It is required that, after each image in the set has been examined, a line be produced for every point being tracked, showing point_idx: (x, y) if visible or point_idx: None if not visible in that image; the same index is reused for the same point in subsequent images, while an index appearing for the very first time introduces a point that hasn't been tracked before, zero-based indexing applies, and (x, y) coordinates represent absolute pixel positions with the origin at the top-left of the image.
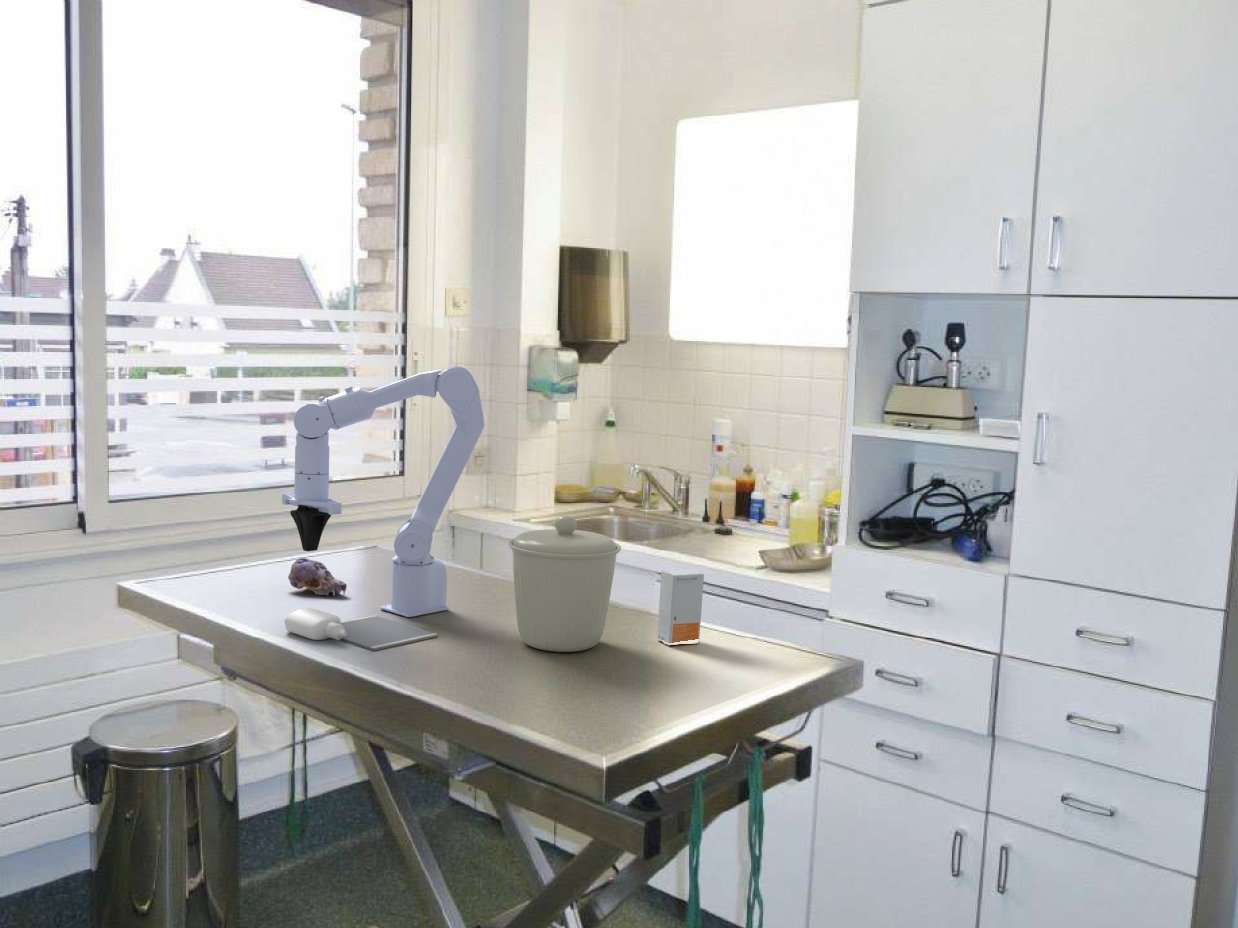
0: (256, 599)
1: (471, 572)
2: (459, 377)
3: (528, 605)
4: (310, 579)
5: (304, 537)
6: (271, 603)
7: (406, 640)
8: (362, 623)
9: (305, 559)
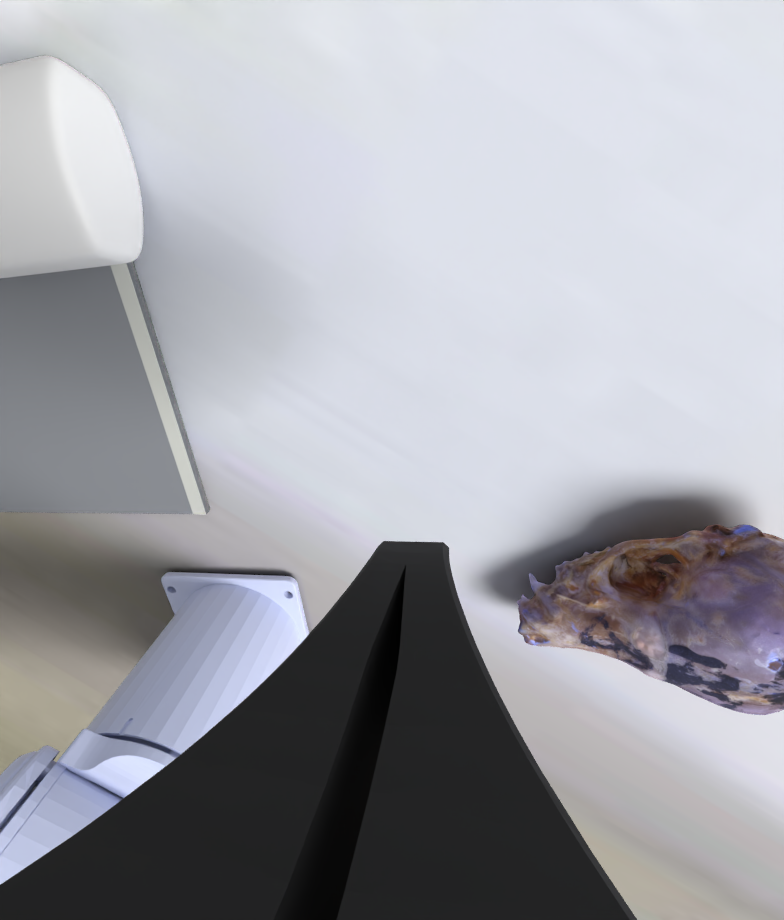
0: (771, 320)
1: None
2: None
3: None
4: (671, 586)
5: (362, 615)
6: (640, 337)
7: None
8: (118, 422)
9: None
